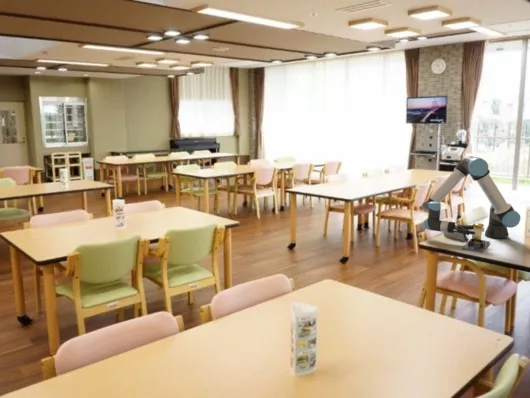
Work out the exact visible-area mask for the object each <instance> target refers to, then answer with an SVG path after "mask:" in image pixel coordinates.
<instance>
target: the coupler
mask: <svg viewBox="0 0 530 398" xmlns="http://www.w3.org/2000/svg"><path fill="white" fill-rule="evenodd" d="M472 225H473V226H474V231H481V236H478V235H473V242H480V243H481V240H482V233H483V232H482V227H484V226H485V225H484V224H483V223H479V222H475V223H473V224H472ZM484 228H485V227H484Z"/></svg>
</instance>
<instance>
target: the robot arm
mask: <svg viewBox="0 0 530 398" xmlns="http://www.w3.org/2000/svg"><path fill="white" fill-rule="evenodd" d="M490 173H491V170H490V169H489V164H488V162H487V161H486V160H485V159H484V158H482V157H476V156H472V155H471V156H466V157H464V158H462V160H460V162H458V164H457V165H456V166H455V167H454V168H453V172H452V173H450V175H449V176H448V177H447V178H446V179H445V180H444V181H443V182H442V184H440V185H439V187H438V188H437V189H436V190H435V191H434V192H433V193H432V195H431V196H430V197H429V198H428V199H427V200H423V202H421V209H422V210H423V212H426V213H427V214H428V215H427V218H425V219H424V220H423V221H424V222H423V228H424V229H425V230H427V231H432V232H433V231H435V232H442V233H443V234H444V232H448V233H454V232H458V233H462V234H466V236H469V235H471V236H472V235H478V236H481V237H482V235H481V231H474V226H473V224H472V225H471V224H459V223H458V224H456V222H455V221H448V220H440V219H441V208H442V207H441V206H442V203H441V202H443V200H444V199H445V198H446V197H447V196H448V195H449V194H450V193H451V192H452V190H453V189H454V188H456V186H457V185H458V184H459V183H460V182H461V180H463V179H464V178H467V177H468V175H469V176H470V177H471V179H472V180H473V182H477V183H478V185H479V187H480V188H481V190H482V191H483V193H484V194H485V196H486V199H487V200H488V201H489V202H490V204H491V205H490V208H489V214H488V215H489V219H488V225H487V227H486V230H485V227H482V233H483V232H484V236H485V237H487V238H491V239H497V240H502V239H503V240H506V239H509V236H510V234H509V230H508V228H510V229H512V228H515V227H517V226H518V225H519V224H520V222H521V214H520V213H518V212H517V211H516V210H515V209H514V207H513V206H512V204H511V203H508V202H507V201H506V199H505V197H504V196H503V194H502V192H501V191H500V190H499V188H498V186H497V184H496V183H495V181H494V180H493V179H492V177H491V175H490ZM456 225H457V226H456Z"/></svg>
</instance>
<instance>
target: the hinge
mask: <svg viewBox="0 0 530 398" xmlns="http://www.w3.org/2000/svg"><path fill="white" fill-rule="evenodd" d="M455 225H456V226H458V224H455ZM443 235H444V236H446V237H451V238H453V239H457V240H461V241H465V240H469V237H468V235H466V234H462V233H458V232H454V233H448V232H444V233H443Z"/></svg>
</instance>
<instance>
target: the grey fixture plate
mask: <svg viewBox="0 0 530 398" xmlns="http://www.w3.org/2000/svg"><path fill="white" fill-rule="evenodd" d="M490 244H491V241H488V240H483V239H481V243H480V242H473V235H471V238H470V239H468V240H467V242H466V244H465V245H463V246H462V251H463V250H464V251H471V252H477V253H483V252H485V250H486V249H487V248H488V246H489V245H490Z"/></svg>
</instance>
